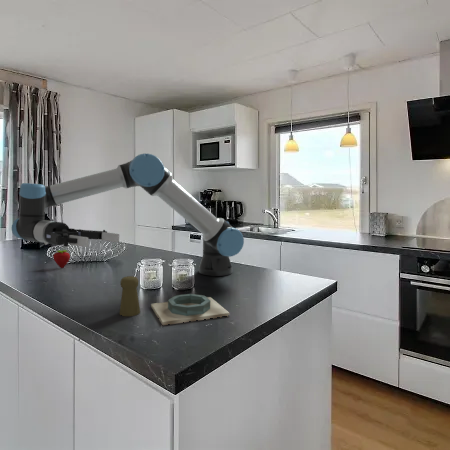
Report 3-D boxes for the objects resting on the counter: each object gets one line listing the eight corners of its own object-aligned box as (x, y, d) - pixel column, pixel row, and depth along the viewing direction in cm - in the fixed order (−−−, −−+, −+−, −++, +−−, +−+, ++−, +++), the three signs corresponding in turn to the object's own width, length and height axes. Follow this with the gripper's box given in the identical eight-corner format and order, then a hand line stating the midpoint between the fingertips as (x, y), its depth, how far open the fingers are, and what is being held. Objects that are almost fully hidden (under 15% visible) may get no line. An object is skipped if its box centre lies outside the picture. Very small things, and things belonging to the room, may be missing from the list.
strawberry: (58, 266, 162) (58, 245, 161) (73, 267, 161) (72, 246, 160) (50, 269, 156) (49, 247, 155) (65, 270, 155) (64, 248, 154)
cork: (121, 309, 106) (121, 274, 105) (141, 309, 107) (141, 274, 106) (117, 316, 100) (116, 279, 99) (138, 316, 101) (138, 279, 100)
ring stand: (210, 299, 117) (210, 289, 116) (229, 316, 102) (229, 304, 102) (151, 306, 109) (151, 296, 109) (162, 325, 94) (162, 313, 94)
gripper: (81, 240, 126) (128, 247, 118) (17, 248, 103) (71, 257, 95) (81, 220, 125) (130, 225, 117) (17, 223, 102) (72, 230, 94)
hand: (103, 240), depth 106 cm, fingers open, 13 cm apart
